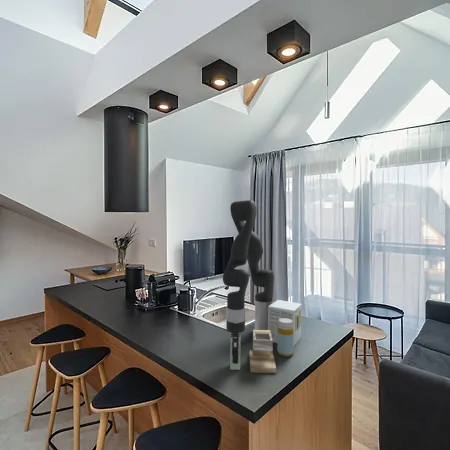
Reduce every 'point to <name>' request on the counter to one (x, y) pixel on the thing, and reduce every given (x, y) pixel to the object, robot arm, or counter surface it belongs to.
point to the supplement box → (284, 311)
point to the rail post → (232, 366)
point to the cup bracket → (262, 352)
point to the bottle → (285, 337)
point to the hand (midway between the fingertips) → (235, 360)
